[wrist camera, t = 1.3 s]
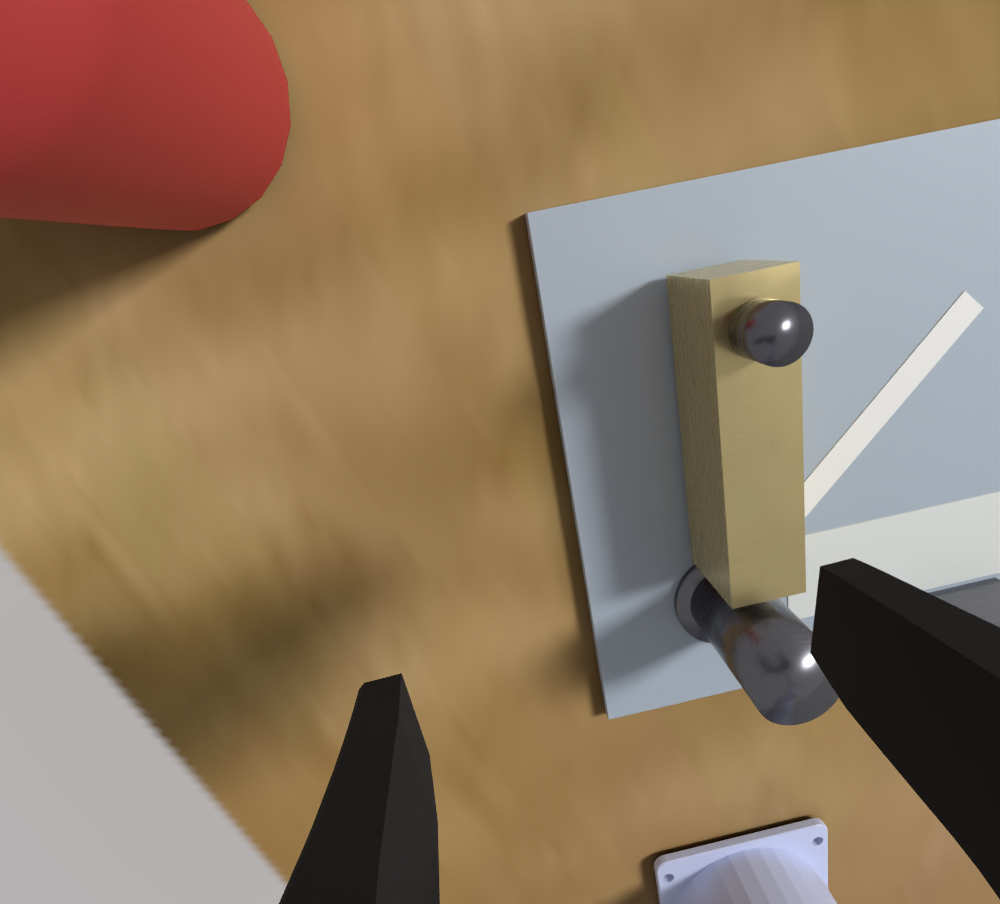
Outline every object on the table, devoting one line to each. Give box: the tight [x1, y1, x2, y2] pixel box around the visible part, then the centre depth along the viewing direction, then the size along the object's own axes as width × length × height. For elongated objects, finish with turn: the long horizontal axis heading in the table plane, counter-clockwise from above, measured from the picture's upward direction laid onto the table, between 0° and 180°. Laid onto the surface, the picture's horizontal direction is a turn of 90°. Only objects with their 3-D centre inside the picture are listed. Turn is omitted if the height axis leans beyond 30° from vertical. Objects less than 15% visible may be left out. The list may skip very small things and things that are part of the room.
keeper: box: [929, 577, 1000, 627], centre depth 23 cm, size 2×4×3 cm, turn 101°
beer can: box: [0, 0, 291, 231], centre depth 11 cm, size 7×7×12 cm
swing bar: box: [666, 260, 814, 609], centre depth 18 cm, size 10×2×4 cm, turn 11°
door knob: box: [674, 564, 839, 725], centre depth 20 cm, size 4×4×5 cm
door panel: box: [525, 119, 1000, 719], centre depth 21 cm, size 19×18×1 cm
